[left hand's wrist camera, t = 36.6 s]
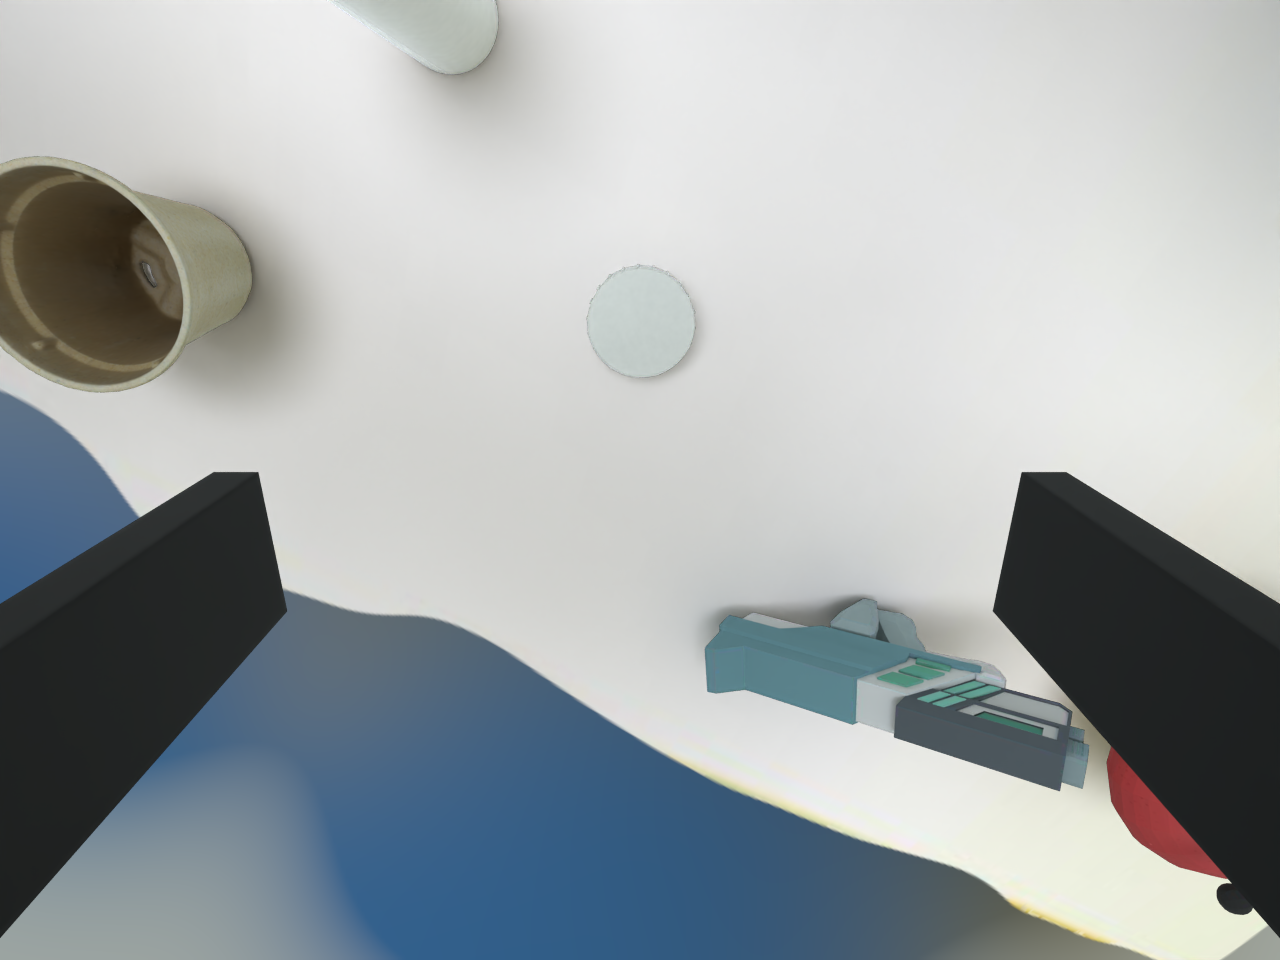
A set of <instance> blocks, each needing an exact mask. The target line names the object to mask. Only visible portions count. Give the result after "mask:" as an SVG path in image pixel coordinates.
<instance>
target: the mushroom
mask: <svg viewBox="0 0 1280 960" xmlns="http://www.w3.org/2000/svg"><path fill="white" fill-rule="evenodd" d="M1107 770H1108V778H1109V787H1110V795H1111V802H1112V804H1113V806H1114V807H1115V809H1116V811H1117V813H1118V814H1119V816H1120V817H1121V819H1122V820H1123V822H1124V823H1125V825H1126V826H1127V828H1128V830H1129V831H1130V833H1131V834H1132V836H1133V837H1134V838H1135V839H1136V840H1137V841H1139V842H1140V843H1141V844H1142V845H1144V846H1145V847H1147V848H1148V849H1150V850H1151V851H1153V852H1154V853H1156V854H1157V855H1159V856H1160V857H1162V858H1163V859H1165V860H1167V861H1168V862H1170V863H1172V864H1174V865H1176V866H1178V867H1180V868H1184V869H1188V870H1192V871H1196V872H1200V873H1204V874H1208V875H1212V876H1216V877H1220V878H1225V879H1228V878H1227V877H1226V876H1225V875H1224V874H1223V873H1222V872H1221V870H1220V869H1219V868H1218V867H1217V866H1216V865H1215V864H1214V862H1213V861H1212V860H1211V859H1210V858H1209V857H1208V856H1207V854H1206V853H1205V852H1204V851H1203V850H1202V849H1201V848H1200V846H1199V845H1198V844H1197V843H1196V842H1195V841H1194V840H1193V839H1192V837H1191V836H1190V835H1189V834H1188V833H1187V832H1186V831H1185V829H1184V828H1183V827H1182V826H1181V825H1180V824H1179V823H1178V821H1177V820H1176V819H1175V818H1174V817H1173V816H1172V815H1171V813H1170V812H1169V811H1168V810H1167V809H1166V808H1165V807H1164V806H1163V804H1162V803H1161V802H1160V801H1159V800H1158V799H1157V798H1156V796H1155V795H1154V794H1153V793H1152V792H1151V791H1150V790H1149V788H1148V787H1147V786H1146V785H1145V784H1144V783H1143V782H1142V780H1141V779H1140V778H1139V777H1138V776H1137V775H1136V774H1135V772H1134V771H1133V770H1132V769H1131V768H1130V767H1129V766H1128V765H1127V763H1126V762H1125V761H1124V760H1123V759H1122V758H1121V757H1120V755H1119V754H1118V753H1117V752H1116V751H1115V750H1114V749H1113V747H1112V746H1111V749H1110V753H1109V756H1108V759H1107ZM1217 899H1218V901H1219V903H1220V904H1221V906H1222V907H1223V908H1224V909H1225V910H1227V911H1228V912H1230V913H1233V914H1239V915H1245V914H1248V913H1249V912H1251V911H1252V908H1253V907H1252V906H1251V905H1250V903H1249V902H1248V901H1247V900H1246V899H1245V898H1244V897H1243V895H1242V894H1241V893H1240V892H1239V891H1238V890H1237V889H1236V887H1235V886H1234V885H1233V884H1230V883H1226V884H1222V885H1220V886H1219V887H1218V889H1217Z"/></svg>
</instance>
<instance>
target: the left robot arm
mask: <svg viewBox="0 0 1280 960" xmlns="http://www.w3.org/2000/svg"><path fill="white" fill-rule="evenodd" d="M286 612H287V608H286V603H285V598H284V594H283V589H282V584H281V579H280V574H279V570H278V565H277V560H276V555H275V550H274V545H273V541H272V536H271V531H270V526H269V521H268V517H267V512H266V507H265V502H264V497H263V493H262V488H261V483H260V478H259V473H258V472H213V473H212V474H210V475H208V476H207V477H205V478H204V479H202V480H200V481H199V482H197V483H195V484H194V485H192V486H191V487H189V488H187V489H186V490H184V491H182V492H181V493H179V494H178V495H176V496H174V497H173V498H171V499H169V500H168V501H166V502H165V503H163V504H161V505H160V506H158V507H157V508H155V509H153V510H152V511H150V512H148V513H147V514H145V515H144V516H142V517H140V518H139V519H137V520H135V521H134V522H132V523H131V524H129V525H127V526H126V527H124V528H122V529H121V530H119V531H118V532H116V533H114V534H113V535H111V536H109V537H108V538H106V539H105V540H103V541H101V542H100V543H98V544H97V545H95V546H93V547H92V548H90V549H88V550H87V551H85V552H84V553H82V554H80V555H79V556H77V557H76V558H74V559H72V560H71V561H69V562H67V563H66V564H64V565H62V566H61V567H59V568H58V569H56V570H54V571H53V572H51V573H50V574H48V575H46V576H45V577H43V578H41V579H40V580H38V581H37V582H35V583H33V584H32V585H30V586H28V587H27V588H25V589H24V590H22V591H20V592H19V593H17V594H16V595H14V596H12V597H11V598H9V599H7V600H6V601H4V602H3V603H1V604H0V938H1V936H2V935H3V934H4V933H5V932H6V931H7V930H8V928H9V927H10V926H11V925H12V924H13V923H14V922H15V921H16V919H17V918H18V917H19V916H20V915H21V914H22V912H23V911H24V910H25V909H26V908H27V907H28V906H29V905H30V903H31V902H32V901H33V900H34V899H35V898H36V897H37V895H38V894H39V893H40V892H41V891H42V890H43V889H44V887H45V886H46V885H47V884H48V883H49V882H50V881H51V880H52V878H53V877H54V876H55V875H56V874H57V873H58V872H59V870H60V869H61V868H62V867H63V866H64V865H65V864H66V862H67V861H68V860H69V859H70V858H71V857H72V856H73V854H74V853H75V852H76V851H77V850H78V849H79V848H80V846H81V845H82V844H83V843H84V842H85V841H86V840H87V838H88V837H89V836H90V835H91V834H92V833H93V832H94V831H95V829H96V828H97V827H98V826H99V825H100V824H101V823H102V821H103V820H104V819H105V818H106V817H107V816H108V815H109V813H110V812H111V811H112V810H113V809H114V808H115V807H116V805H117V804H118V803H119V802H120V801H121V800H122V799H123V798H124V796H125V795H126V794H127V793H128V792H129V791H130V790H131V788H132V787H133V786H134V785H135V784H136V783H137V782H138V780H139V779H140V778H141V777H142V776H143V775H144V774H145V772H146V771H147V770H148V769H149V768H150V767H151V766H152V764H153V763H154V762H155V761H156V760H157V759H158V758H159V757H160V755H161V754H162V753H163V752H164V751H165V750H166V748H167V747H168V746H169V745H170V744H171V743H172V742H173V741H174V739H175V738H176V737H177V736H178V735H179V734H180V733H181V731H182V730H183V729H184V728H185V727H186V726H187V725H188V723H189V722H190V721H191V720H192V719H193V718H194V717H195V716H196V714H197V713H198V712H199V711H200V710H201V709H202V708H203V706H204V705H205V704H206V703H207V702H208V701H209V700H210V698H211V697H212V696H213V695H214V694H215V693H216V692H217V690H218V689H219V688H220V687H221V686H222V685H223V684H224V682H225V681H226V680H227V679H228V678H229V677H230V676H231V675H232V673H233V672H234V671H235V670H236V669H237V668H238V667H239V665H240V664H241V663H242V662H243V661H244V660H245V659H246V657H247V656H248V655H249V654H250V653H251V652H252V651H253V649H254V648H255V647H256V646H257V645H258V644H259V643H260V642H261V640H262V639H263V638H264V637H265V636H266V635H267V633H268V632H269V631H270V630H271V629H272V628H273V627H274V626H275V624H276V623H277V622H278V621H279V620H280V619H281V618H282V616H283V615H284V614H285V613H286ZM993 612H994V613H995V614H996V615H997V616H998V618H999V619H1000V620H1001V621H1002V622H1003V623H1004V624H1005V626H1006V627H1007V628H1008V629H1009V630H1010V631H1011V632H1012V634H1013V635H1014V636H1015V637H1016V638H1017V639H1018V640H1019V642H1020V643H1021V644H1022V645H1023V646H1024V647H1025V648H1026V649H1027V651H1028V652H1029V653H1030V654H1031V655H1032V656H1033V657H1034V659H1035V660H1036V661H1037V662H1038V663H1039V664H1040V665H1041V667H1042V668H1043V669H1044V670H1045V671H1046V672H1047V673H1048V675H1049V676H1050V677H1051V678H1052V679H1053V680H1054V681H1055V683H1056V684H1057V685H1058V686H1059V687H1060V688H1061V689H1062V690H1063V692H1064V693H1065V694H1066V695H1067V696H1068V697H1069V698H1070V700H1071V701H1072V702H1073V703H1074V704H1075V705H1076V706H1077V708H1078V709H1079V710H1080V711H1081V712H1082V713H1083V714H1084V716H1085V717H1086V718H1087V719H1088V720H1089V721H1090V722H1091V724H1092V725H1093V726H1094V727H1095V728H1096V729H1097V730H1098V731H1099V733H1100V734H1101V735H1102V736H1103V737H1104V738H1105V739H1106V741H1107V742H1108V743H1109V744H1110V745H1111V746H1112V747H1113V749H1114V750H1115V751H1116V752H1117V753H1118V754H1119V755H1120V757H1121V758H1122V759H1123V760H1124V761H1125V762H1126V763H1127V765H1128V766H1129V767H1130V768H1131V769H1132V770H1133V771H1134V772H1135V774H1136V775H1137V776H1138V777H1139V778H1140V779H1141V780H1142V782H1143V783H1144V784H1145V785H1146V786H1147V787H1148V788H1149V790H1150V791H1151V792H1152V793H1153V794H1154V795H1155V796H1156V798H1157V799H1158V800H1159V801H1160V802H1161V803H1162V804H1163V806H1164V807H1165V808H1166V809H1167V810H1168V811H1169V812H1170V813H1171V815H1172V816H1173V817H1174V818H1175V819H1176V820H1177V821H1178V823H1179V824H1180V825H1181V826H1182V827H1183V828H1184V829H1185V831H1186V832H1187V833H1188V834H1189V835H1190V836H1191V837H1192V839H1193V840H1194V841H1195V842H1196V843H1197V844H1198V845H1199V846H1200V848H1201V849H1202V850H1203V851H1204V852H1205V853H1206V854H1207V856H1208V857H1209V858H1210V859H1211V860H1212V861H1213V862H1214V864H1215V865H1216V866H1217V867H1218V868H1219V869H1220V870H1221V872H1222V873H1223V874H1224V875H1225V876H1226V877H1227V878H1228V880H1229V881H1230V882H1231V883H1232V884H1233V885H1234V886H1235V887H1236V889H1237V890H1238V891H1239V892H1240V893H1241V894H1242V895H1243V897H1244V898H1245V899H1246V900H1247V901H1248V902H1249V903H1250V905H1251V906H1252V907H1253V908H1254V909H1255V910H1256V911H1257V913H1258V914H1259V915H1260V916H1261V917H1262V918H1263V919H1264V921H1265V922H1266V923H1267V924H1268V925H1269V926H1270V927H1271V928H1272V930H1273V931H1274V932H1275V933H1276V934H1277V935H1278V936H1279V938H1280V604H1279V603H1278V602H1276V601H1274V600H1273V599H1271V598H1269V597H1268V596H1266V595H1265V594H1263V593H1261V592H1260V591H1258V590H1256V589H1255V588H1253V587H1252V586H1250V585H1248V584H1247V583H1245V582H1243V581H1242V580H1240V579H1239V578H1237V577H1235V576H1234V575H1232V574H1231V573H1229V572H1227V571H1226V570H1224V569H1222V568H1221V567H1219V566H1218V565H1216V564H1214V563H1213V562H1211V561H1209V560H1208V559H1206V558H1205V557H1203V556H1201V555H1200V554H1198V553H1196V552H1195V551H1193V550H1192V549H1190V548H1188V547H1187V546H1185V545H1183V544H1182V543H1180V542H1179V541H1177V540H1175V539H1174V538H1172V537H1171V536H1169V535H1167V534H1166V533H1164V532H1162V531H1161V530H1159V529H1158V528H1156V527H1154V526H1153V525H1151V524H1149V523H1148V522H1146V521H1145V520H1143V519H1141V518H1140V517H1138V516H1136V515H1135V514H1133V513H1132V512H1130V511H1128V510H1127V509H1125V508H1123V507H1122V506H1120V505H1119V504H1117V503H1115V502H1114V501H1112V500H1111V499H1109V498H1107V497H1106V496H1104V495H1102V494H1101V493H1099V492H1098V491H1096V490H1094V489H1093V488H1091V487H1089V486H1088V485H1086V484H1085V483H1083V482H1081V481H1080V480H1078V479H1076V478H1075V477H1073V476H1072V475H1070V474H1068V473H1067V472H1022V473H1021V478H1020V483H1019V488H1018V493H1017V497H1016V502H1015V507H1014V512H1013V517H1012V521H1011V526H1010V531H1009V536H1008V541H1007V545H1006V550H1005V555H1004V560H1003V565H1002V570H1001V574H1000V579H999V584H998V589H997V594H996V598H995V603H994V608H993Z"/></svg>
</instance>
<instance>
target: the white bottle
mask: <svg viewBox="0 0 1280 960" xmlns="http://www.w3.org/2000/svg"><path fill="white" fill-rule="evenodd" d="M327 1H328V2H330V3H331V4H333V5H334V6H336V7H337V8H339V9H340V10H342V11H343V12H345V13H346V14H348V15H349V16H351V17H352V18H354V19H355V20H357V21H358V22H360V23H361V24H363V25H364V26H366V27H367V28H369V29H370V30H372V31H373V32H375V33H376V34H378V35H379V36H381V37H382V38H384V39H385V40H387V41H388V42H390V43H391V44H393V45H394V46H396V47H397V48H399V49H400V50H402V51H403V52H405V53H406V54H408V55H409V56H411V57H412V58H414V59H415V60H417V61H418V62H420V63H421V64H423V65H424V66H426V67H427V68H429V69H431V70H433V71H436V72H439V73H443V74H452V75H453V74H461V73H465V72H468V71H470V70H472V69H474V68H475V67H477V66H478V65H479V64H481V63H482V62H483V61H484V60H485V58H486V57H487V56H488V54H489V53H490V51H491V49H492V47H493V45H494V43H495V40H496V36H497V31H498V10H497V5H496V1H495V0H327Z"/></svg>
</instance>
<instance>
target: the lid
mask: <svg viewBox="0 0 1280 960" xmlns="http://www.w3.org/2000/svg"><path fill="white" fill-rule="evenodd" d="M597 290H598V291H597V292H596V294H595V296H594V298H592V299H591V301H590V304H591V305H590V308H589V313H588V316H587V319H588V322H587V324H588V335H589V338H590V341H591V344H592V346H593V349H594V350H595V352H596V353H597V355H598V356H599V357H600V359H601V360H602V361H603V362H604V363H605V364H606V365H607V366H609V367H610V368H611V369H613V370H615V371H617V372H618V373H621V374H623V375H626V376H630V377H638V378H644V377H652V376H656V375H659V374H662V373H664V372H666V371H668V370H669V369H671V368H672V367H674V366H675V365H676V364H677V363H678V362H679V361H680V360H681V359H682V358H683V357H684V355H685V354H686V353H687V351H688V349H689V347H690V345H691V344H692V339H693V336H694V330H695V328H696V327H695V317H694V314H695V311H694V309H693V307H692V304H691V302H690V296H689V294H688V293H687V294H686V292H685V290H684V289H683V287H682V284H681V282H680V281H677V280H676V279H675V278H674V277H672V276H671V275H670V274H669V272H668V271H667V272H665V271H663V270H661V269H658V268H655V266H652V267H651V266H643V265H642V266H639V264H637V266H632V267H627V268H625V267H623V268H622V270H620V271H617V272H616V273H614V274H613V275H611V274H610V275H609V276H608V279H606V280H605V281H604V283H603V284H602V285H599V286H598V288H597Z"/></svg>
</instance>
